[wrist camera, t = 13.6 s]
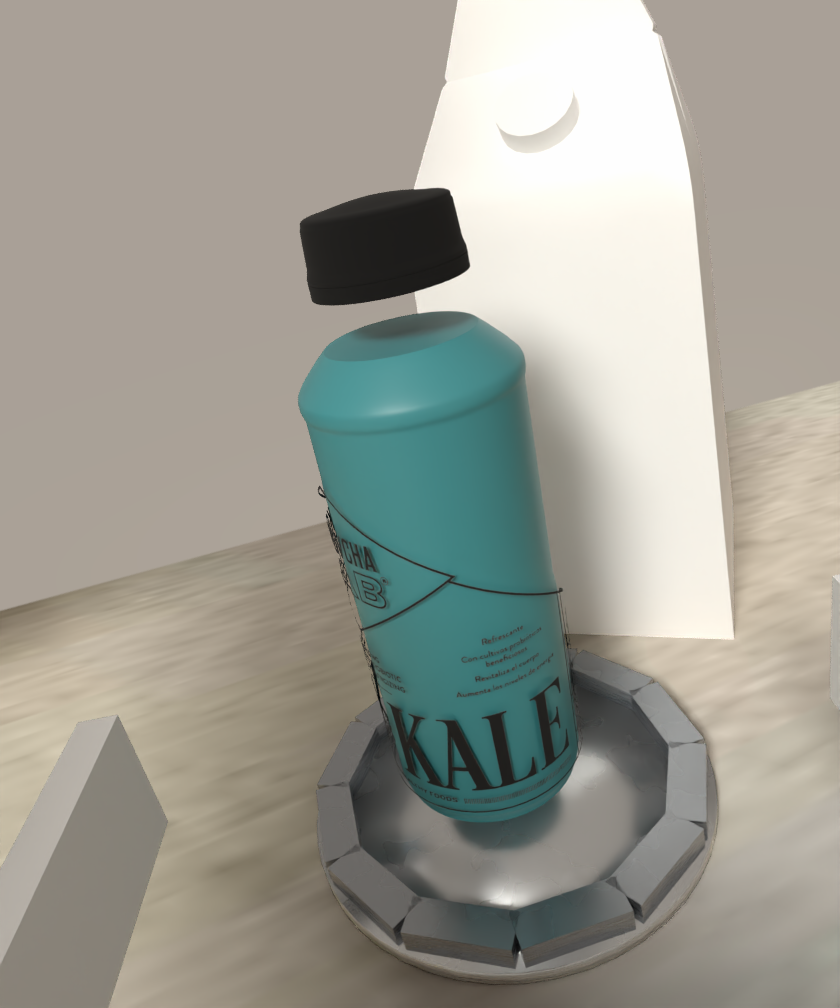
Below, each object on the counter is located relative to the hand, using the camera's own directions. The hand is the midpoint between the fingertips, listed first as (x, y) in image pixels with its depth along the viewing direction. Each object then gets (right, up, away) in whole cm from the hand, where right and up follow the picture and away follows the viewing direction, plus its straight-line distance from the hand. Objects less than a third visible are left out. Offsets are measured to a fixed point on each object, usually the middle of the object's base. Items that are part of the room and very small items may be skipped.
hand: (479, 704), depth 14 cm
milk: (+9, 0, +26) cm, 27 cm away
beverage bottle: (+2, -6, +14) cm, 15 cm away
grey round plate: (+2, -7, +14) cm, 15 cm away
